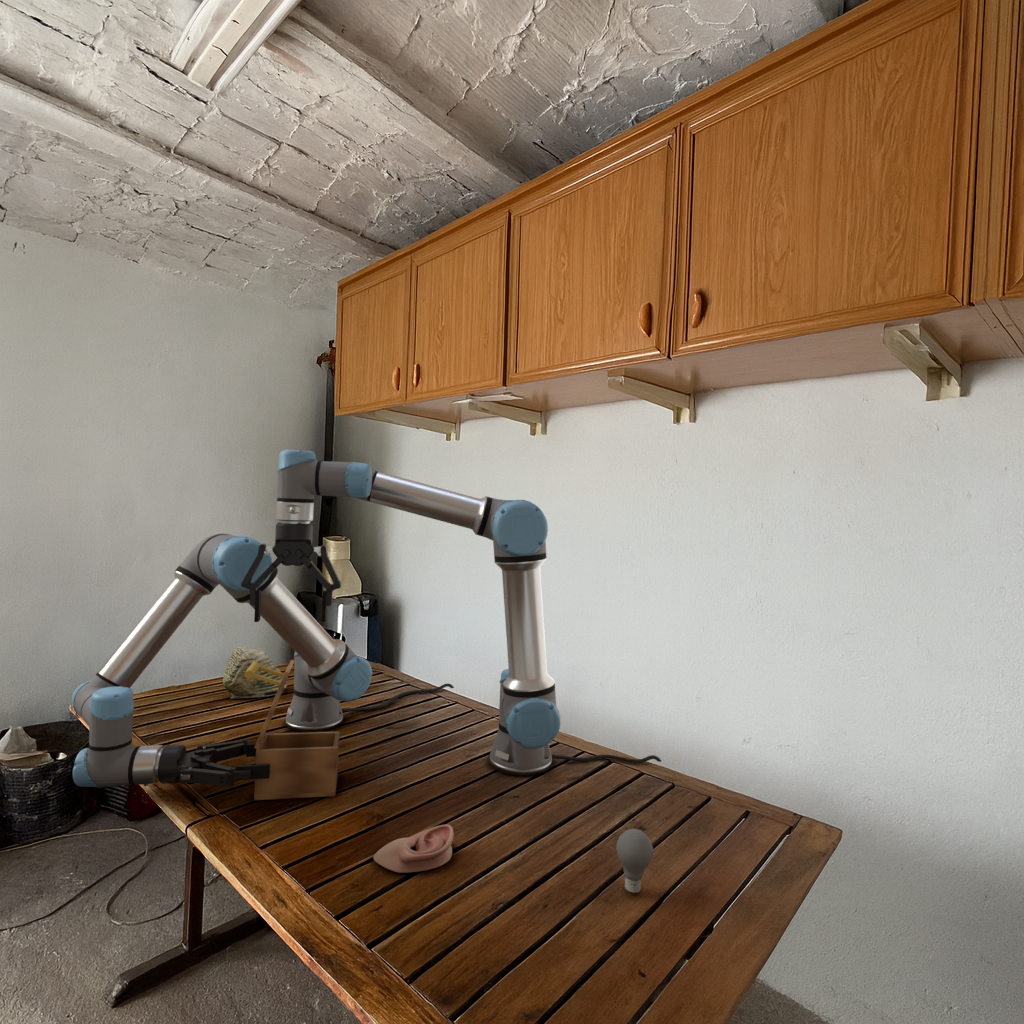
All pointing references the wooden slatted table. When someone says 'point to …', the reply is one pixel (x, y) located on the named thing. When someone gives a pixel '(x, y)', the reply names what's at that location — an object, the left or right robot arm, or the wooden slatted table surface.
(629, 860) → the light bulb
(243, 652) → the fossil
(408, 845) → the anatomical model
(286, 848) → the wooden slatted table surface
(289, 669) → the lid
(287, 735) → the chest
